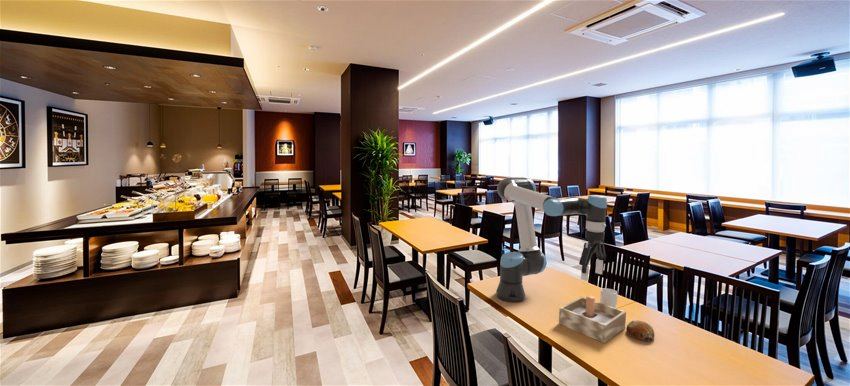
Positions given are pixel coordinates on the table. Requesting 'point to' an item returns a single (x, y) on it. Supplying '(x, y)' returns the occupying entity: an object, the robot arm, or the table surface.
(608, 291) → the mug
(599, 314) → the socket box
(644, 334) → the bread roll
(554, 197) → the robot arm
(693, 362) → the table surface
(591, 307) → the peg
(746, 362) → the table surface
